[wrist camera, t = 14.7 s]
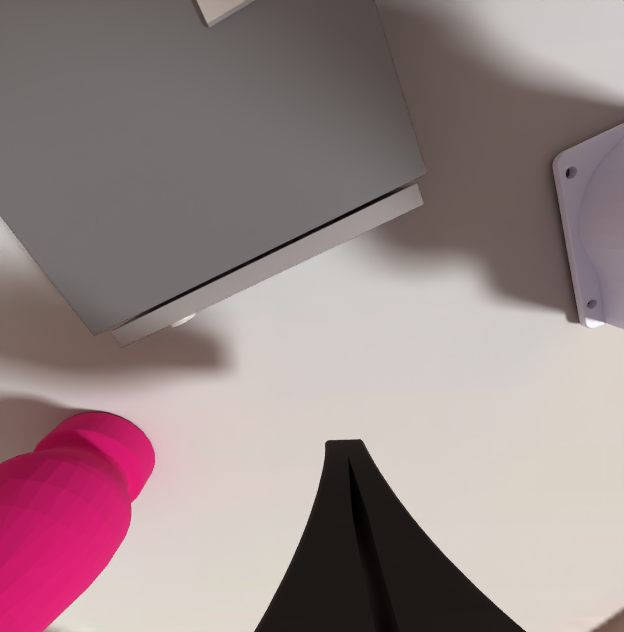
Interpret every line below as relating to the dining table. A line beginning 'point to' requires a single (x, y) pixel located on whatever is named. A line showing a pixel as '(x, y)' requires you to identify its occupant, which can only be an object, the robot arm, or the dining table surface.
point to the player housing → (188, 136)
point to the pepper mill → (66, 514)
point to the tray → (270, 263)
